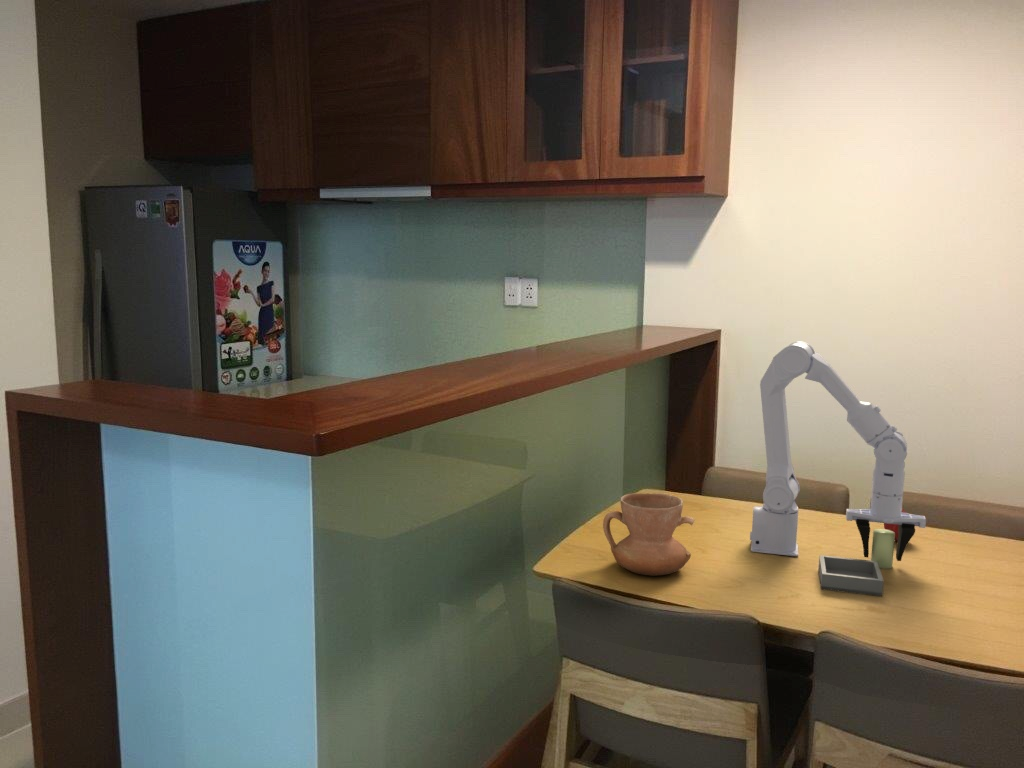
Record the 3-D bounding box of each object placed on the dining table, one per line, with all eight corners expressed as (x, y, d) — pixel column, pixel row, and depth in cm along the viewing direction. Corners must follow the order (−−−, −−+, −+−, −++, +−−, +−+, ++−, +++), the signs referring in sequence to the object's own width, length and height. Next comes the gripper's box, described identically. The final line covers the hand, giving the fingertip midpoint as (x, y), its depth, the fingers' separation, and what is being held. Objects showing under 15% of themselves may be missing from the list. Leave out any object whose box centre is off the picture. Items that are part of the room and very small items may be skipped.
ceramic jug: (698, 561, 171) (699, 493, 169) (688, 586, 157) (690, 513, 155) (611, 552, 177) (611, 486, 175) (594, 575, 163) (595, 504, 161)
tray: (821, 589, 157) (822, 573, 157) (818, 569, 167) (819, 555, 167) (882, 596, 154) (883, 580, 154) (876, 575, 164) (877, 561, 164)
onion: (914, 546, 181) (917, 510, 180) (886, 544, 182) (889, 509, 181) (907, 537, 187) (910, 503, 185) (880, 535, 188) (882, 501, 187)
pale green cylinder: (871, 567, 168) (874, 534, 167) (869, 560, 172) (872, 528, 171) (893, 569, 167) (896, 536, 166) (890, 563, 171) (893, 530, 170)
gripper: (850, 494, 166) (845, 560, 168) (930, 501, 162) (924, 568, 164) (847, 485, 173) (842, 548, 175) (924, 491, 168) (918, 556, 170)
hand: (882, 557), depth 170 cm, fingers open, 5 cm apart
